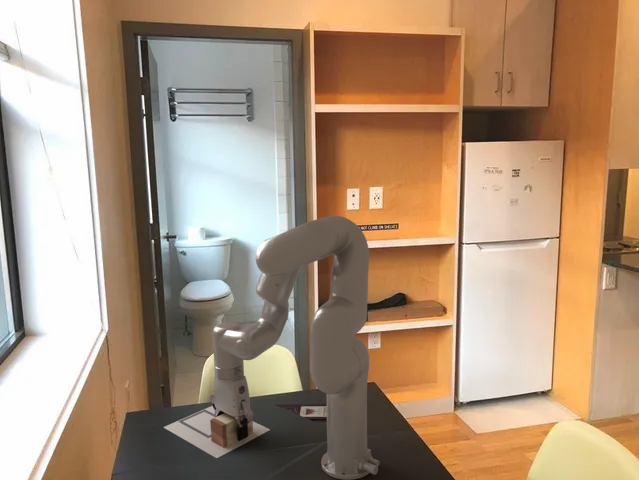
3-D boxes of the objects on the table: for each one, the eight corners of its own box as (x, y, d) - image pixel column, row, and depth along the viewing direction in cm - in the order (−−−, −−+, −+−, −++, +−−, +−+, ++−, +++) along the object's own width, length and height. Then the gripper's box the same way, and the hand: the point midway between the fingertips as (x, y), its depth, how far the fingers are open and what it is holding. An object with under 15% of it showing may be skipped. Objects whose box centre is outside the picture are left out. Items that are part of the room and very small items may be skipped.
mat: (270, 431, 142) (270, 429, 142) (216, 460, 129) (216, 457, 128) (216, 405, 158) (216, 403, 158) (163, 429, 144) (163, 426, 144)
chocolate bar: (271, 404, 157) (331, 404, 156) (272, 407, 157) (331, 407, 156) (267, 419, 148) (331, 418, 147) (267, 422, 148) (331, 422, 147)
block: (241, 426, 144) (240, 406, 143) (253, 432, 140) (252, 411, 140) (211, 441, 136) (210, 419, 135) (223, 447, 133) (222, 425, 132)
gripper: (262, 374, 133) (265, 438, 135) (220, 358, 144) (223, 418, 147) (239, 384, 127) (242, 451, 130) (197, 366, 139) (200, 428, 141)
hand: (232, 433), depth 138 cm, fingers open, 7 cm apart
